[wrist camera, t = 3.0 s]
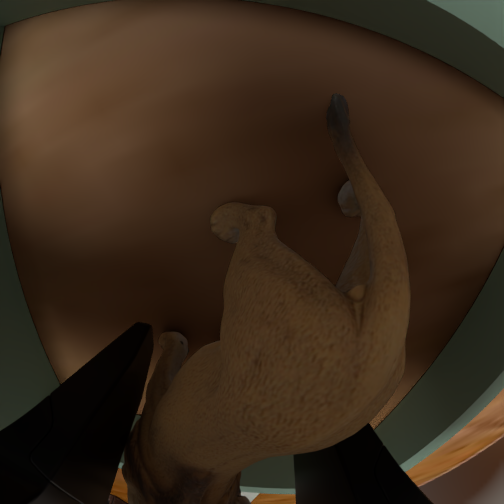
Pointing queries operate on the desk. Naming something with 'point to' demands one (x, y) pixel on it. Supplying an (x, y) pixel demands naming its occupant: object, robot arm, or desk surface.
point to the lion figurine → (277, 351)
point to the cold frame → (462, 342)
